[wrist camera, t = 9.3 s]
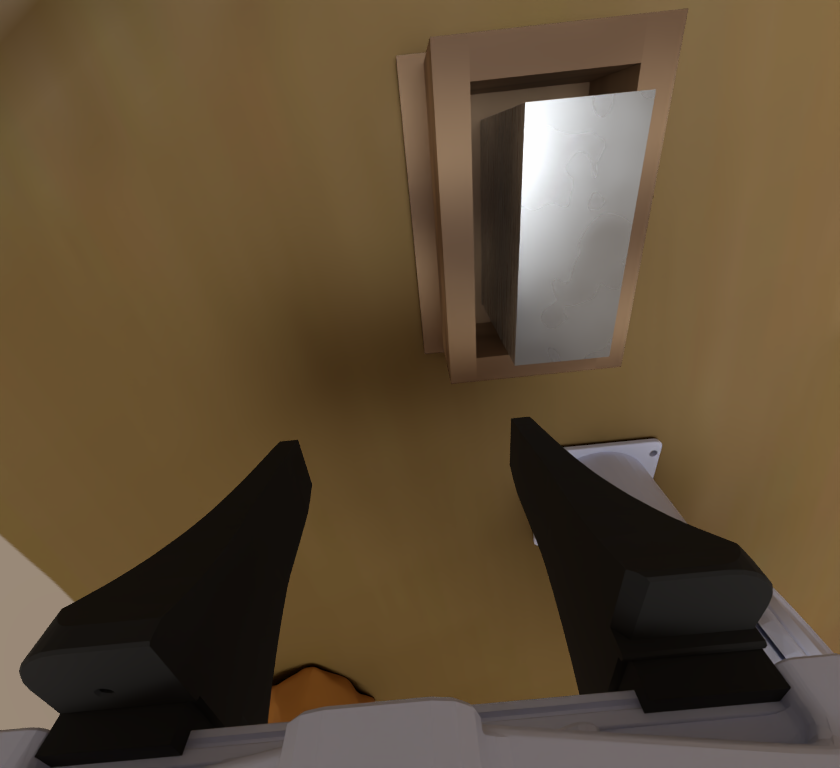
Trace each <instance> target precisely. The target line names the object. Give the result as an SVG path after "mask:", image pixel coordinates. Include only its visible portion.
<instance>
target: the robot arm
mask: <svg viewBox="0 0 840 768" xmlns="http://www.w3.org/2000/svg"><path fill="white" fill-rule="evenodd" d="M661 448H662V443H661V442H660V441H659V440H658V439H655V438H653V439H643V440H633V441H623V442H612V443H602V444H592V445H582V446H572V447H562V446H561V445H560V444H559V443H558V442H556V441H555V440H554V439H553V438H552V437H551V436H550V435H549V434H548V433H547V432H546V431H544V430H543V429H542V428H541V427H540V426H539V425H538V424H537V423H536V422H535V421H534V420H533V419H532V418H530V417H522V418H512V419H511V443H510V467H511V471H512V475H513V479H514V483H515V487H516V490H517V493H518V496H519V499H520V501H521V504H522V506H523V509H524V511H525V514H526V516H527V519H528V521H529V524H530V526H531V529H532V531H533V541H534V544H535V545H537V546H539V548H540V551H541V554H542V557H543V560H544V562H545V566H546V569H547V573H548V576H549V579H550V583H551V586H552V590H553V593H554V597H555V601H556V604H557V608H558V611H559V615H560V619H561V622H562V626H563V630H564V634H565V638H566V642H567V646H568V649H569V653H570V657H571V661H572V665H573V669H574V673H575V678H576V682H577V686H578V690H579V694H580V695H574V696H563V697H552V698H541V699H530V700H519V701H509V702H498V703H487V704H476V705H470V704H469V703H467V702H464V701H461V700H458V699H456V698H453V697H423V698H412V699H401V700H390V701H380V702H369V703H358V704H347V705H336V706H325V707H320V708H316V709H312V710H307V711H304V712H302V713H301V714H300V715H298V716H297V717H295V718H294V719H293V720H291V721H290V722H279V723H268V717H269V708H270V699H271V689H272V682H273V674H274V667H275V659H276V652H277V645H278V639H279V633H280V626H281V620H282V614H283V608H284V603H285V597H286V592H287V587H288V582H289V578H290V574H291V571H292V567H293V564H294V560H295V557H296V553H297V550H298V546H299V543H300V539H301V536H302V532H303V529H304V525H305V522H306V518H307V514H308V509H309V503H310V496H311V488H312V483H311V480H310V476H309V473H308V470H307V467H306V464H305V461H304V457H303V454H302V451H301V448H300V445H299V442H298V440H292V441H282V442H279V443H278V444H277V445H276V446H275V447H274V448H273V449H272V450H271V451H270V453H269V454H268V455H267V456H266V457H265V458H264V459H263V460H262V461H261V462H260V463H259V464H258V465H257V466H256V468H255V469H254V470H253V471H252V472H251V473H250V474H249V475H248V476H247V477H246V478H245V479H244V480H243V481H242V482H241V483H240V484H239V485H238V486H237V487H236V488H235V489H234V490H233V491H232V492H231V493H230V494H229V495H228V496H227V497H226V498H224V499H223V500H222V501H221V502H220V503H219V504H218V505H217V506H216V507H215V508H214V509H213V510H212V511H210V512H209V513H208V514H207V515H206V516H205V517H203V518H202V519H201V520H200V521H199V522H197V523H196V524H195V525H194V526H192V527H191V528H190V529H189V530H187V531H186V532H185V533H183V534H182V535H181V536H179V537H178V538H177V539H175V540H174V541H172V542H171V543H170V544H168V545H167V546H165V547H164V548H163V549H161V550H160V551H159V552H157V553H156V554H154V555H153V556H151V557H150V558H148V559H147V560H145V561H144V562H142V563H141V564H139V565H138V566H136V567H135V568H133V569H131V570H130V571H128V572H126V573H125V574H123V575H122V576H120V577H118V578H117V579H115V580H113V581H112V582H110V583H108V584H106V585H105V586H103V587H101V588H99V589H97V590H96V591H94V592H92V593H90V594H88V595H87V596H85V597H83V598H81V599H79V600H78V601H76V602H74V603H72V604H70V605H68V606H66V607H64V608H63V609H61V611H60V612H59V613H58V615H57V616H56V617H55V619H54V620H53V621H52V623H51V624H50V625H49V627H48V628H47V630H46V631H45V632H44V634H43V635H42V636H41V638H40V639H39V641H38V642H37V643H36V644H35V646H34V647H33V648H32V650H31V651H30V653H29V654H28V655H27V656H26V658H25V659H24V661H23V662H22V663H21V666H20V670H19V672H20V676H21V679H22V681H23V683H24V684H25V685H26V686H27V687H28V688H29V689H30V690H31V691H32V692H33V693H35V694H36V695H37V696H38V697H40V698H41V699H42V700H43V701H45V702H46V703H47V704H49V705H50V706H51V707H52V708H54V709H55V710H56V711H57V712H59V713H60V715H59V717H58V719H57V720H56V722H55V724H54V725H53V727H52V729H51V730H48V729H43V728H21V729H10V730H0V768H840V655H839V654H836V653H833V652H832V651H831V649H830V648H829V647H828V646H827V645H826V644H825V643H824V642H823V640H822V639H821V638H820V637H819V636H818V635H817V634H816V633H815V631H814V630H813V629H812V628H811V627H810V626H809V625H808V624H807V623H806V621H805V620H804V619H803V618H802V617H801V616H800V615H799V614H798V613H797V612H796V611H795V610H794V609H793V607H792V606H791V605H790V604H789V603H788V602H787V601H786V600H785V599H784V598H783V597H782V596H781V595H780V594H779V593H778V592H777V591H776V590H775V589H774V588H773V586H772V583H771V582H770V581H769V579H768V578H767V577H766V575H765V574H764V573H763V572H762V571H761V569H760V568H759V567H758V566H757V565H756V563H755V562H754V561H753V560H752V559H751V558H750V557H749V556H748V554H747V553H746V552H745V551H744V550H743V549H742V548H741V547H740V546H739V545H738V544H737V543H734V542H732V541H729V540H726V539H724V538H721V537H719V536H716V535H714V534H711V533H708V532H706V531H703V530H701V529H698V528H696V527H693V526H691V525H689V524H687V522H686V521H685V520H684V518H683V517H682V516H681V515H680V513H679V512H678V511H677V509H676V508H675V507H674V505H673V504H672V503H671V502H670V500H669V499H668V498H667V496H666V495H665V494H664V492H663V491H662V490H661V489H660V487H659V486H658V485H657V483H656V482H655V481H654V479H653V477H654V473H655V470H656V466H657V463H658V459H659V456H660V452H661ZM651 451H652V452H651Z"/></svg>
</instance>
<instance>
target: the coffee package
mask: <svg viewBox="0 0 840 768" xmlns="http://www.w3.org/2000/svg"><path fill="white" fill-rule="evenodd" d="M369 702H375V699H374V698H372V697H369V696H367V695H362V694H360V693H358V692H357V691H356V690H355V688H354V687H353V685H352V684H351V682H350V681H349V680H348V679H347V678H345V677H343V676H340V675H337V674H333V673H330V672H327V671H323V670H320V669H318V668H316V667H308V668H304V669H302V670H301V671H300V672H298V673H297V674H295V675H293V676H291V677H289V678H287V679H286V680H284V681H282V682H281V683H280V684H278V685H274V686H272V689H271V699H270V708H269V717H268V723H279V722H290V721H291V720H293V719H294V718H295V717H297V716H298V715H300V714H301V713H302V712H304V711H307V710H312V709H316V708H320V707H325V706H336V705H347V704H358V703H369Z"/></svg>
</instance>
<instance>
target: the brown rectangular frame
mask: <svg viewBox="0 0 840 768" xmlns="http://www.w3.org/2000/svg"><path fill="white" fill-rule="evenodd" d="M687 13H688V8H687V9H678V10H669V11H660V12H651V13H642V14H633V15H625V16H616V17H607V18H598V19H589V20H580V21H571V22H562V23H553V24H544V25H535V26H526V27H517V28H508V29H499V30H490V31H481V32H472V33H463V34H454V35H445V36H436V37H430V39H429V43H428V47H427V51H426V52H425V53H416V54H407V55H398V56H396V61H397V71H398V81H399V92H400V102H401V113H402V123H403V133H404V144H405V154H406V164H407V175H408V185H409V195H410V206H411V216H412V226H413V237H414V247H415V258H416V268H417V278H418V289H419V299H420V309H421V320H422V330H423V340H424V351H425V354H430V353H439V352H444V353H445V357H446V362H447V367H448V371H449V376H450V380H451V384H454V383H464V382H474V381H484V380H494V379H503V378H513V377H523V376H533V375H543V374H553V373H563V372H573V371H583V370H592V369H602V368H612V367H621V364H622V359H623V353H624V348H625V343H626V337H627V332H628V327H629V322H630V316H631V311H632V306H633V300H634V295H635V290H636V284H637V279H638V274H639V268H640V263H641V258H642V252H643V247H644V242H645V236H646V231H647V226H648V220H649V215H650V210H651V204H652V199H653V194H654V189H655V183H656V178H657V173H658V167H659V162H660V157H661V151H662V146H663V141H664V135H665V130H666V125H667V119H668V114H669V109H670V103H671V98H672V93H673V87H674V82H675V77H676V72H677V66H678V61H679V56H680V50H681V45H682V40H683V34H684V29H685V24H686V18H687ZM653 89H656V93H655V99H654V104H653V110H652V116H651V122H650V127H649V133H648V139H647V144H646V150H645V156H644V161H643V167H642V173H641V179H640V184H639V190H638V196H637V201H636V207H635V213H634V218H633V224H632V230H631V236H630V241H629V247H628V253H627V258H626V264H625V270H624V276H623V281H622V287H621V293H620V298H619V304H618V310H617V315H616V321H615V327H614V333H613V338H612V344H611V350H610V355H609V357H601V358H590V359H580V360H569V361H559V362H548V363H538V364H528V365H517V366H515V365H514V363H513V361H512V360H511V358H510V356H509V354H508V352H507V350H506V348H505V346H504V344H503V343H502V341H501V339H500V337H499V335H498V333H497V331H496V329H495V328H494V326H493V324H492V322H491V320H490V318H489V316H488V314H487V312H486V311H485V309H484V307H483V305H482V286H481V153H480V120H482V119H485V118H487V117H490V116H492V115H495V114H497V113H500V112H502V111H505V110H507V109H510V108H513V107H515V106H518V105H520V104H523V103H525V102H534V101H544V100H554V99H564V98H574V97H584V96H594V95H603V94H613V93H623V92H633V91H643V90H653Z"/></svg>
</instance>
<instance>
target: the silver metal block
mask: <svg viewBox="0 0 840 768" xmlns="http://www.w3.org/2000/svg"><path fill="white" fill-rule="evenodd" d="M655 93H656V89H653V90H643V91H633V92H623V93H613V94H603V95H594V96H584V97H574V98H564V99H554V100H544V101H534V102H525V103H523V104H520V105H518V106H515V107H513V108H510V109H507V110H505V111H502V112H500V113H497V114H495V115H492V116H490V117H487V118H485V119H482V120H480V153H481V286H482V305H483V307H484V309H485V311H486V312H487V314H488V316H489V318H490V320H491V322H492V324H493V326H494V328H495V329H496V331H497V333H498V335H499V337H500V339H501V341H502V343H503V344H504V346H505V348H506V350H507V352H508V354H509V356H510V358H511V360H512V361H513V363H514V365H515V366H517V365H528V364H538V363H548V362H559V361H569V360H580V359H590V358H601V357H609V355H610V350H611V344H612V338H613V333H614V327H615V321H616V315H617V310H618V304H619V298H620V293H621V287H622V281H623V276H624V270H625V264H626V258H627V253H628V247H629V241H630V236H631V230H632V224H633V218H634V213H635V207H636V201H637V196H638V190H639V184H640V179H641V173H642V167H643V161H644V156H645V150H646V144H647V139H648V133H649V127H650V122H651V116H652V110H653V104H654V99H655Z"/></svg>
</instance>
